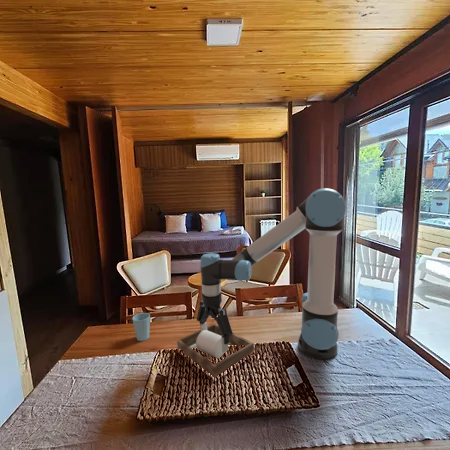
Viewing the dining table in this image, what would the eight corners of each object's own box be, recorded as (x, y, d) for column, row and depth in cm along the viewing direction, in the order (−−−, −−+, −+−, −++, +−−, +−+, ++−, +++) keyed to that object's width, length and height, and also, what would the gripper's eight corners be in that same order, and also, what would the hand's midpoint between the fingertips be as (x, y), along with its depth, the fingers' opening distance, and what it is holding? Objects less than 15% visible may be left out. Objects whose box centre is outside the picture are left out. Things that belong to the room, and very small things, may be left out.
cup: (153, 339, 121) (151, 318, 120) (135, 344, 118) (133, 322, 117) (150, 332, 128) (148, 311, 127) (133, 336, 125) (131, 315, 124)
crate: (253, 356, 106) (253, 343, 105) (215, 381, 93) (214, 367, 92) (215, 334, 124) (214, 323, 123) (178, 353, 110) (177, 340, 110)
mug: (213, 361, 100) (215, 340, 100) (195, 352, 106) (196, 332, 106) (233, 352, 109) (234, 332, 110) (214, 344, 116) (216, 325, 116)
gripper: (240, 298, 98) (242, 352, 101) (200, 283, 116) (203, 330, 119) (225, 304, 93) (228, 361, 96) (186, 288, 112) (189, 336, 114)
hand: (214, 344), depth 108 cm, fingers open, 12 cm apart
